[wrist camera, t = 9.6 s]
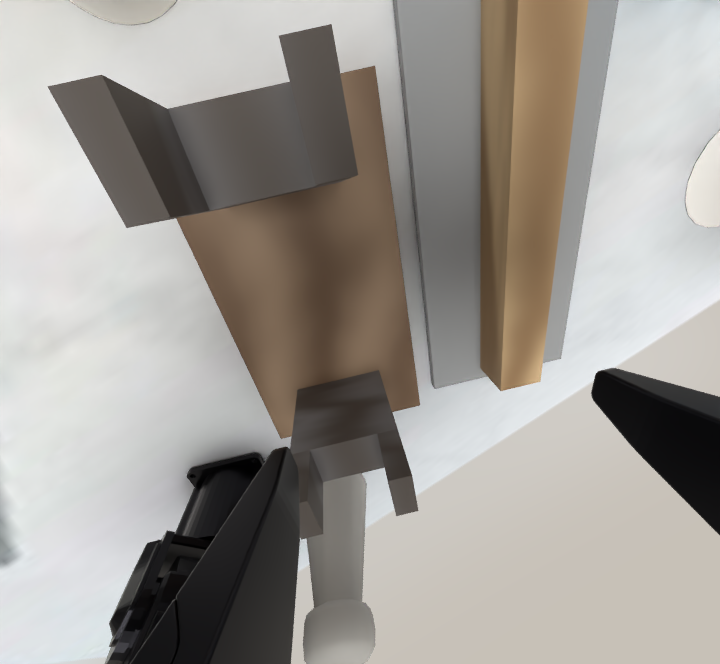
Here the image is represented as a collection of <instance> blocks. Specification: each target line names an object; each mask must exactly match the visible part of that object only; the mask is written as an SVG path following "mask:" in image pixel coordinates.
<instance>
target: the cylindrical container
mask: <svg viewBox="0 0 720 664" xmlns="http://www.w3.org/2000/svg"><path fill="white" fill-rule="evenodd" d="M69 1H71V2H72V3H73V4H75V5H76V6H77V7H79V8H81V9H83V10H84V11H86V12H88V13H90V14H92V15H93V16H95V17H98V18H101V19H104V20H106V21H109V22H112V23H118V24H126V25H135V24H142V23H148V22H150V21H152V20H154V19H156V18H158V17H160V16H162V15H163V14H164V13H165V12H166V11H168V10H169V9H170V8H171V7H172V6H173V5H174V3H175V2H176V0H69Z"/></svg>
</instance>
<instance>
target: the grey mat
mask: <svg viewBox="0 0 720 664" xmlns="http://www.w3.org/2000/svg"><path fill="white" fill-rule="evenodd" d="M393 2H394V12H395V22H396V32H397V42H398V52H399V61H400V71H401V81H402V91H403V101H404V111H405V121H406V130H407V140H408V150H409V160H410V170H411V180H412V190H413V199H414V209H415V219H416V229H417V239H418V249H419V259H420V268H421V278H422V288H423V298H424V308H425V318H426V328H427V337H428V347H429V357H430V367H431V377H432V385H433V387H434V389H437V388H441V387H445V386H449V385H453V384H458V383H462V382H466V381H470V380H474V379H478V378H483V377H487V375H486V374H485V373H484V372H483V371H482V369H481V368H480V208H481V0H393ZM617 6H618V0H589V1H588V9H587V17H586V25H585V33H584V41H583V48H582V56H581V64H580V72H579V80H578V88H577V96H576V104H575V112H574V119H573V127H572V135H571V143H570V151H569V159H568V167H567V175H566V182H565V190H564V198H563V206H562V214H561V222H560V230H559V238H558V246H557V253H556V261H555V269H554V277H553V285H552V293H551V301H550V309H549V317H548V324H547V332H546V340H545V348H544V356H543V363H545V362H549V361H553V360H557V359H561V355H562V348H563V342H564V336H565V330H566V324H567V317H568V311H569V305H570V299H571V293H572V286H573V280H574V274H575V268H576V261H577V255H578V249H579V243H580V237H581V230H582V224H583V218H584V212H585V205H586V199H587V193H588V187H589V181H590V174H591V168H592V162H593V156H594V149H595V143H596V137H597V131H598V125H599V118H600V112H601V106H602V100H603V93H604V87H605V81H606V75H607V69H608V62H609V56H610V50H611V44H612V38H613V31H614V25H615V19H616V13H617Z"/></svg>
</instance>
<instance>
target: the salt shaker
mask: <svg viewBox="0 0 720 664" xmlns="http://www.w3.org/2000/svg"><path fill="white" fill-rule="evenodd" d="M366 485H367V484H366V481H365V478H364V477H363V475H362V473H359V474H355V475H351V476H347V477H343V478H339V479H334V480H330V481H326V482H323V534H322V535H318V536H314V537H309V538H307V546H308V554H309V563H310V572H311V582H312V591H313V600H314V609H313V610H312V611H310V612H309V613H308V615H307V616H306V619H305V623H304V637H303V648H304V660H305V662H306V664H364V663H365V662H367V661H368V660H369V658H370V656H371V654H372V652H373V649H374V647H375V625H374V619H373V614H372V612H371V609H370V608H369V607H368V606H367V604H366V603H364V602H362V589H363V563H364V537H365V511H366Z"/></svg>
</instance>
